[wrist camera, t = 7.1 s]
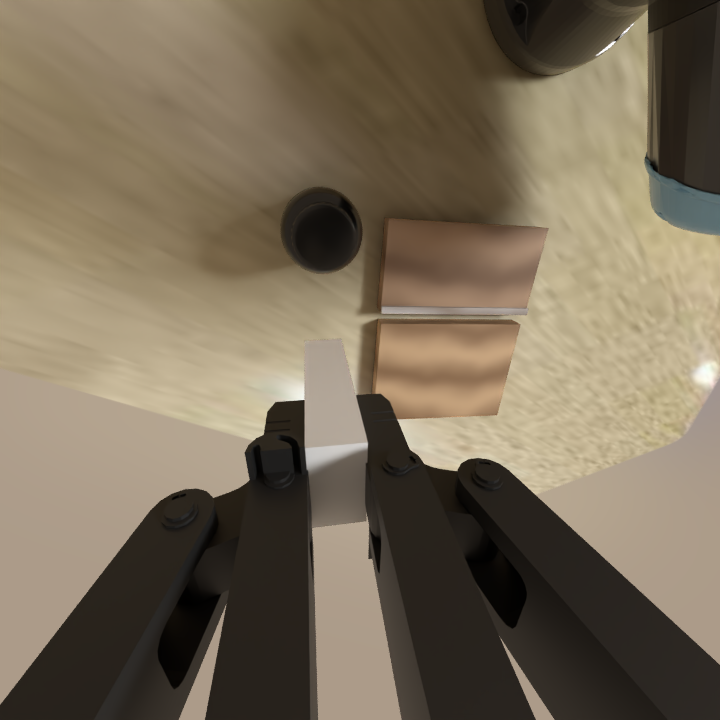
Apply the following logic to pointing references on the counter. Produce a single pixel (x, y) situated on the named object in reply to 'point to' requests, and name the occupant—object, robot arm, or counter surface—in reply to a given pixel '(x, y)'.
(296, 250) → the supplement bottle
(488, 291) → the walnut board
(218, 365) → the counter surface
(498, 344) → the oak plank
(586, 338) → the counter surface
